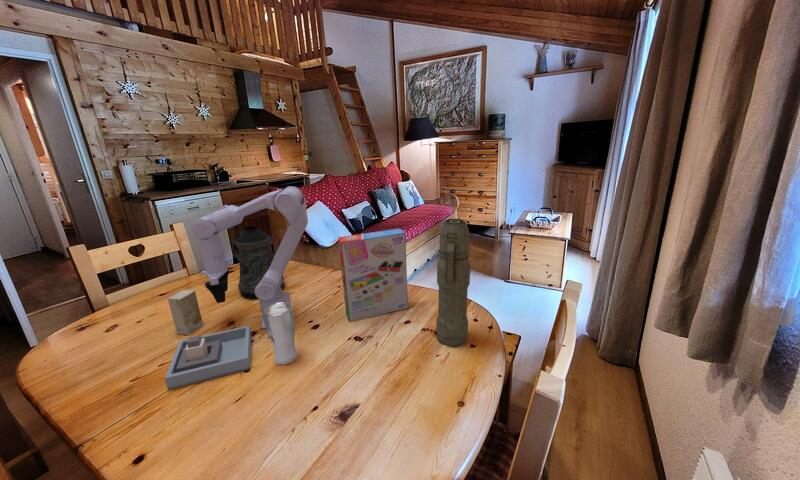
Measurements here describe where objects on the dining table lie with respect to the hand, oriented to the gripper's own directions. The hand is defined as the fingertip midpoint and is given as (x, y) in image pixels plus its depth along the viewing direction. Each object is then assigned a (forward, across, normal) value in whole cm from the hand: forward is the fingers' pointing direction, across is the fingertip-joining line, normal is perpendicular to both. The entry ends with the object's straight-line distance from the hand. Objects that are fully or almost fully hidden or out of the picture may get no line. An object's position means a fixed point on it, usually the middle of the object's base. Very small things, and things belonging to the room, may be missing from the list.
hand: (222, 296), depth 101 cm
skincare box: (+10, -2, -11) cm, 15 cm away
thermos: (+10, +36, +61) cm, 72 cm away
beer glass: (+10, +25, +16) cm, 31 cm away
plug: (+9, +18, -6) cm, 21 cm away
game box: (+10, +13, +46) cm, 49 cm away
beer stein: (+10, -22, +9) cm, 26 cm away
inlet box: (+10, +18, -2) cm, 21 cm away
